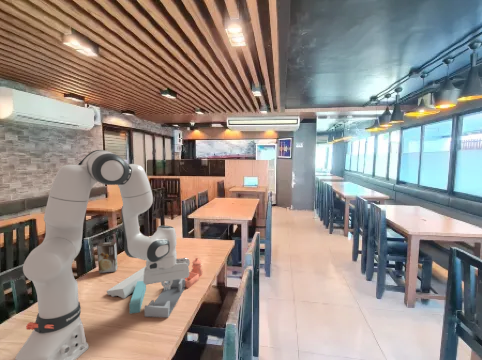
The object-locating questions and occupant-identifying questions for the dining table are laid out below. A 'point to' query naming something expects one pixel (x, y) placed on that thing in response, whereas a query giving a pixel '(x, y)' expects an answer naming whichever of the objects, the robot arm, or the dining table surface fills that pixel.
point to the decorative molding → (127, 285)
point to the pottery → (194, 273)
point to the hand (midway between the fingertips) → (167, 289)
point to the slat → (137, 297)
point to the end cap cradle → (165, 300)
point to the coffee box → (107, 257)
